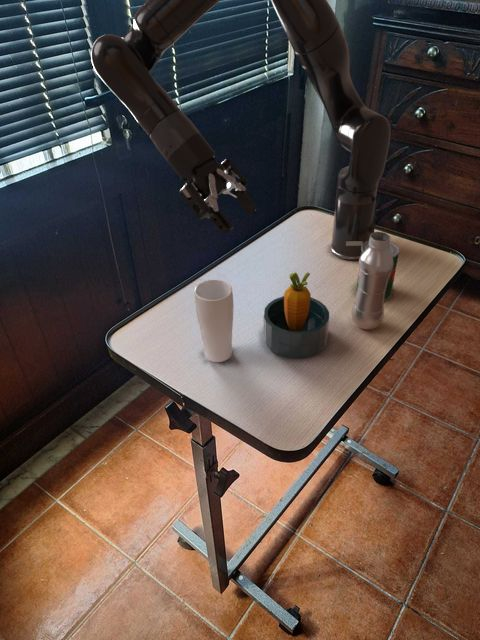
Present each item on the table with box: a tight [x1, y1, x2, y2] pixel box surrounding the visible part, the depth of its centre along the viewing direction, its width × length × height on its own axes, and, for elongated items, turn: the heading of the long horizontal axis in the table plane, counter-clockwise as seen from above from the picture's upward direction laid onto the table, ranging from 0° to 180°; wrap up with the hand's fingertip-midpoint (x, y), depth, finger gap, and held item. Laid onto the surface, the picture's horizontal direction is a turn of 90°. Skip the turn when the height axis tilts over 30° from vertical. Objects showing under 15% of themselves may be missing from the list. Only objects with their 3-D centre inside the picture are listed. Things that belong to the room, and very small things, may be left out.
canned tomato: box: [355, 241, 400, 302], centre depth 112 cm, size 8×8×11 cm
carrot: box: [283, 272, 311, 332], centre depth 98 cm, size 5×5×15 cm
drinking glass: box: [193, 279, 235, 363], centre depth 95 cm, size 7×7×15 cm
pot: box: [263, 295, 330, 359], centre depth 101 cm, size 13×13×6 cm
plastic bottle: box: [351, 231, 393, 330], centre depth 100 cm, size 6×7×20 cm
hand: (241, 221), depth 93 cm, fingers open, 8 cm apart
